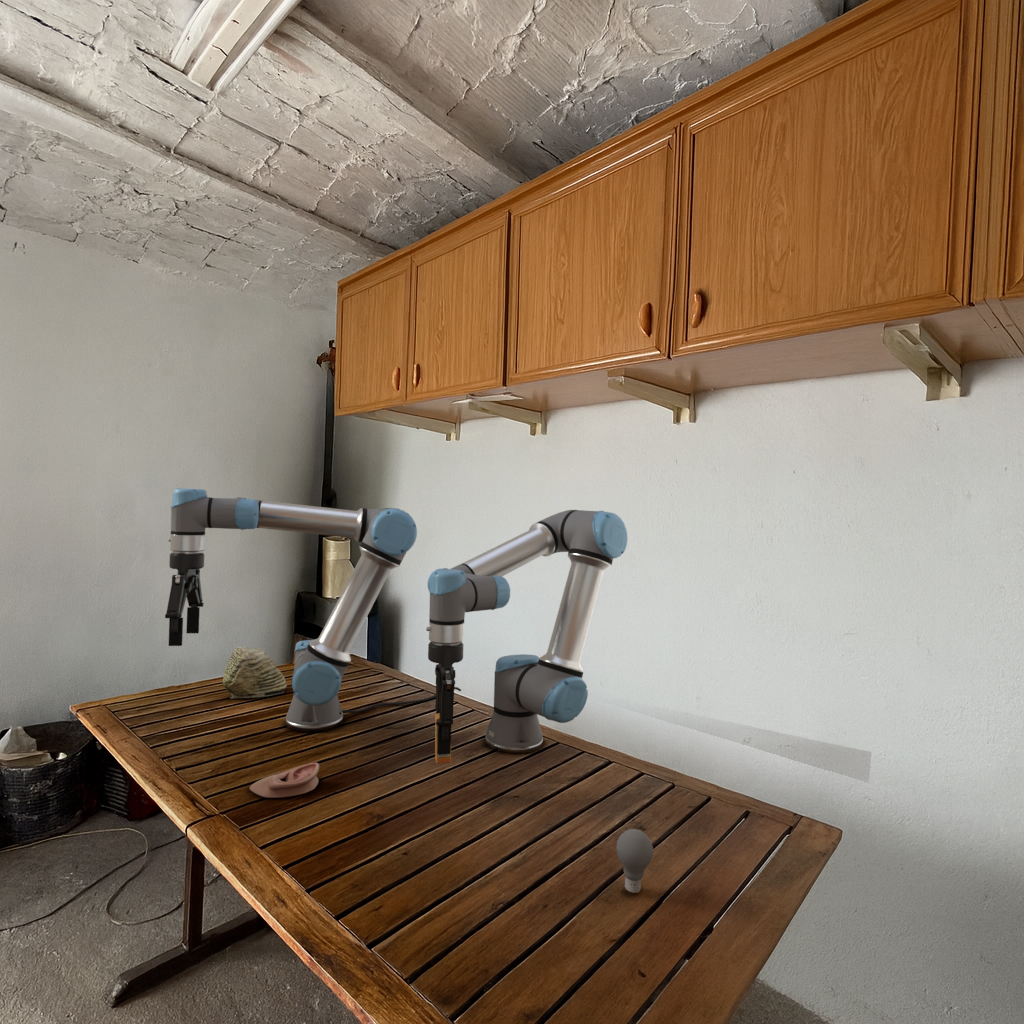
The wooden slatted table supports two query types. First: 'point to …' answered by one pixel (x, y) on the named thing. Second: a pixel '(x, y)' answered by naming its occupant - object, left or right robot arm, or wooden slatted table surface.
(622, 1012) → the wooden slatted table surface
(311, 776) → the anatomical model
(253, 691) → the fossil
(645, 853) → the light bulb
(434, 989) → the wooden slatted table surface
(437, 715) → the supplement box
